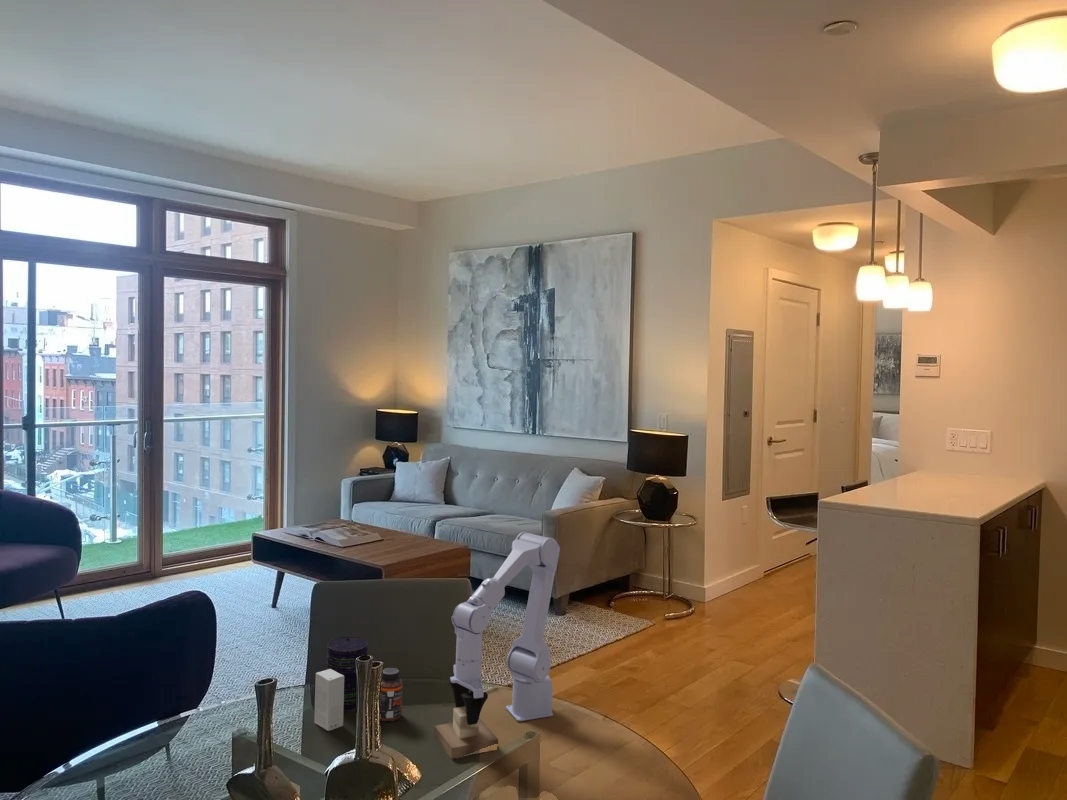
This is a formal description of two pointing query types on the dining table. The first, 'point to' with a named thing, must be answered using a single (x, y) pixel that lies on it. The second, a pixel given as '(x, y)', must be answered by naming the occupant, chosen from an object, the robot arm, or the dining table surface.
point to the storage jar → (346, 664)
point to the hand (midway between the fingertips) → (466, 716)
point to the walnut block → (463, 740)
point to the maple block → (463, 724)
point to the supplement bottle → (391, 695)
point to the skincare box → (329, 699)
